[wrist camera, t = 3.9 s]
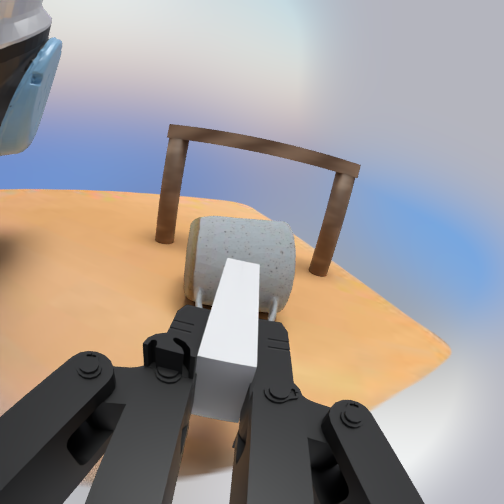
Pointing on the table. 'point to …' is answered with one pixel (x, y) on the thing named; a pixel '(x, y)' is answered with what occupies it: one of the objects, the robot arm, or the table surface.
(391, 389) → the table surface
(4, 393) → the table surface
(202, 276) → the ceramic mug
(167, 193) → the walnut gate
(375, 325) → the table surface
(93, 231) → the table surface
